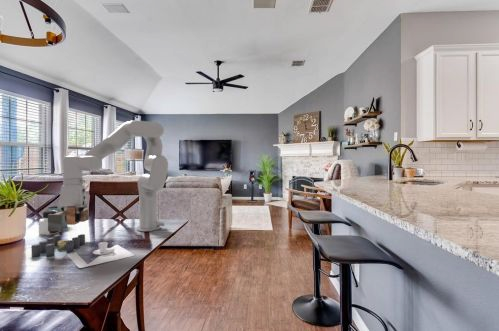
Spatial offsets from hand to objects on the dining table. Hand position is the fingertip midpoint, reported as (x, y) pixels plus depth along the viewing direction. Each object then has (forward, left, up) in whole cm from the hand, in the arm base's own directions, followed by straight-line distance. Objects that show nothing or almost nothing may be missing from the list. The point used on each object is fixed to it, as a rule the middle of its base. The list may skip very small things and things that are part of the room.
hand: (73, 220), depth 126 cm
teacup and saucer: (-20, +17, -11) cm, 28 cm away
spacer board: (0, +10, -11) cm, 15 cm away
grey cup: (+27, -33, -11) cm, 44 cm away
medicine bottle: (+23, -20, -11) cm, 32 cm away
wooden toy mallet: (0, +3, -1) cm, 3 cm away
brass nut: (0, +8, -10) cm, 13 cm away
